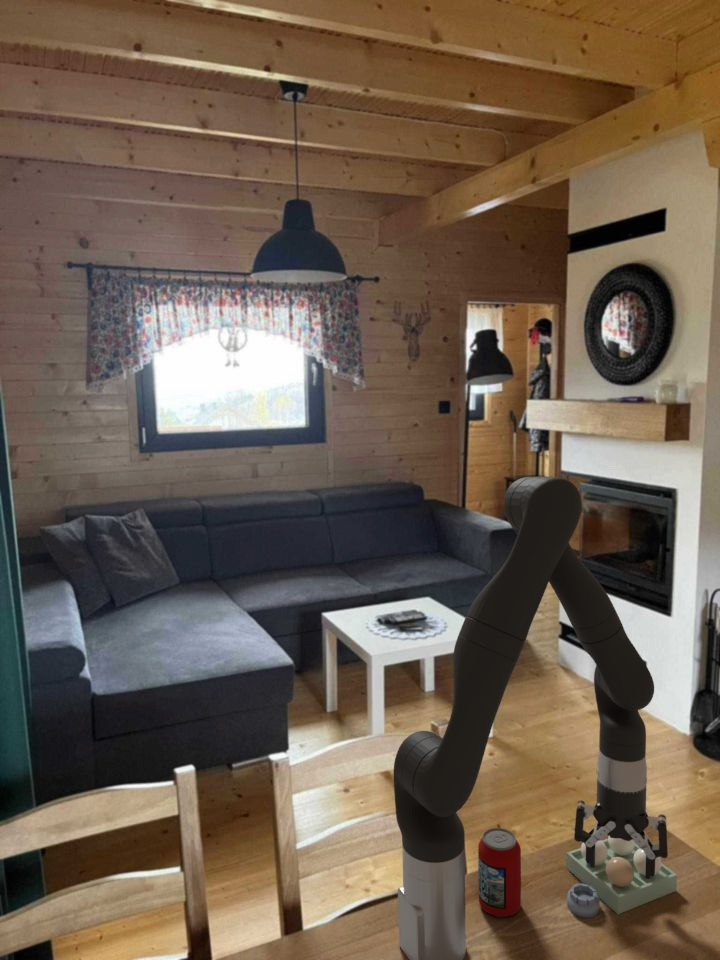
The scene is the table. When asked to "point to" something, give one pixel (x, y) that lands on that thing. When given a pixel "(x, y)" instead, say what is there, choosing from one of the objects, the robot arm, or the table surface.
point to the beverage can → (499, 872)
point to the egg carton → (621, 896)
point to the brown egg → (619, 872)
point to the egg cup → (583, 901)
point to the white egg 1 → (597, 852)
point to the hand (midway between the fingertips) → (619, 870)
